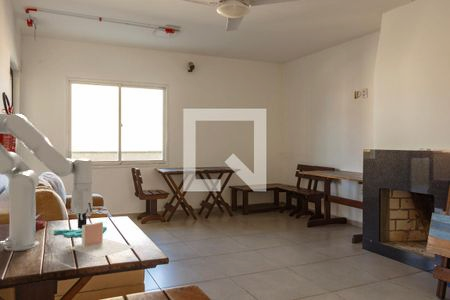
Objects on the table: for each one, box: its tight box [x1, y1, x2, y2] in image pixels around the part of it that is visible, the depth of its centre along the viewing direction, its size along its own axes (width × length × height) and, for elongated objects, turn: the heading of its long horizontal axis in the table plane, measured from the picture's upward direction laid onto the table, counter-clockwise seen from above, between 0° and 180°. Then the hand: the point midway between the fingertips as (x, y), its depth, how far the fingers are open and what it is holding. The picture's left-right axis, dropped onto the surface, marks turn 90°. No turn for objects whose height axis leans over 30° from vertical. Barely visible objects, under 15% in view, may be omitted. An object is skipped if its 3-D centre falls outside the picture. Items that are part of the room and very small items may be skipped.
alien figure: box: [53, 226, 108, 238], centre depth 171 cm, size 20×2×20 cm
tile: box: [81, 221, 104, 247], centre depth 150 cm, size 9×2×9 cm, turn 145°
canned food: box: [36, 211, 47, 230], centre depth 180 cm, size 11×10×10 cm
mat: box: [69, 238, 135, 259], centre depth 146 cm, size 18×20×1 cm
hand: (82, 227), depth 155 cm, fingers closed
